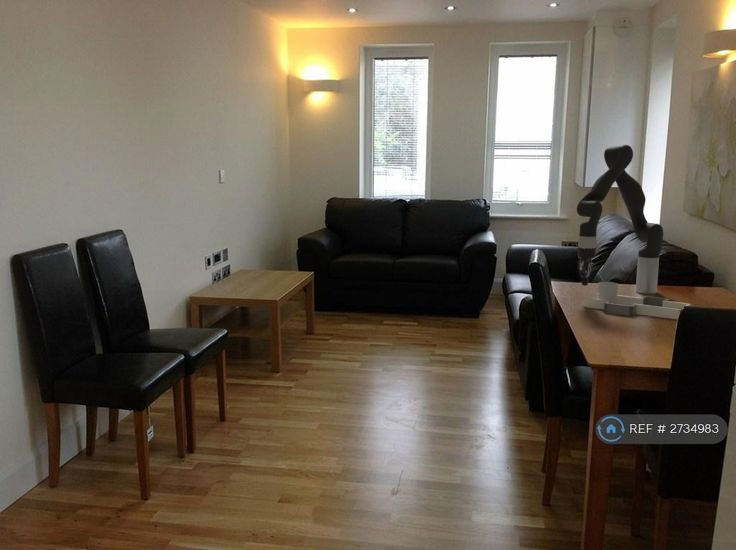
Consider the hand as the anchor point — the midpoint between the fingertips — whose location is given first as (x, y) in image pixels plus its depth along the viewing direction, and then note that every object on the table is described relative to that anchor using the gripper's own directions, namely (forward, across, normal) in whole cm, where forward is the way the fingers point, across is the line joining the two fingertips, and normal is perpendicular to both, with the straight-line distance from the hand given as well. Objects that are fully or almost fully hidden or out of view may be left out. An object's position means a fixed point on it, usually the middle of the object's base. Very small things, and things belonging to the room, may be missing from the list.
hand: (584, 285), depth 285 cm
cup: (+8, 0, +10) cm, 13 cm away
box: (+8, 0, +23) cm, 24 cm away
